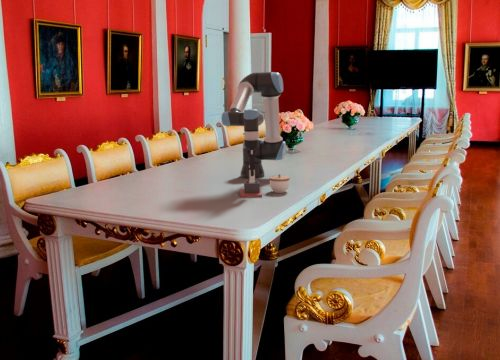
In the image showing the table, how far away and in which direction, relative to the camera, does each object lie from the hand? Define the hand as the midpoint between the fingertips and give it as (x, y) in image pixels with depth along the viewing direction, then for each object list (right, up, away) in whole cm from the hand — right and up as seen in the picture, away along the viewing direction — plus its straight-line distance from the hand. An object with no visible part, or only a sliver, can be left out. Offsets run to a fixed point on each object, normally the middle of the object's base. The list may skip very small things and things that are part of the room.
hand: (252, 179), depth 276 cm
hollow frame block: (0, -6, +1) cm, 6 cm away
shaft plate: (0, -7, +1) cm, 8 cm away
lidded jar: (+15, -7, +6) cm, 17 cm away
